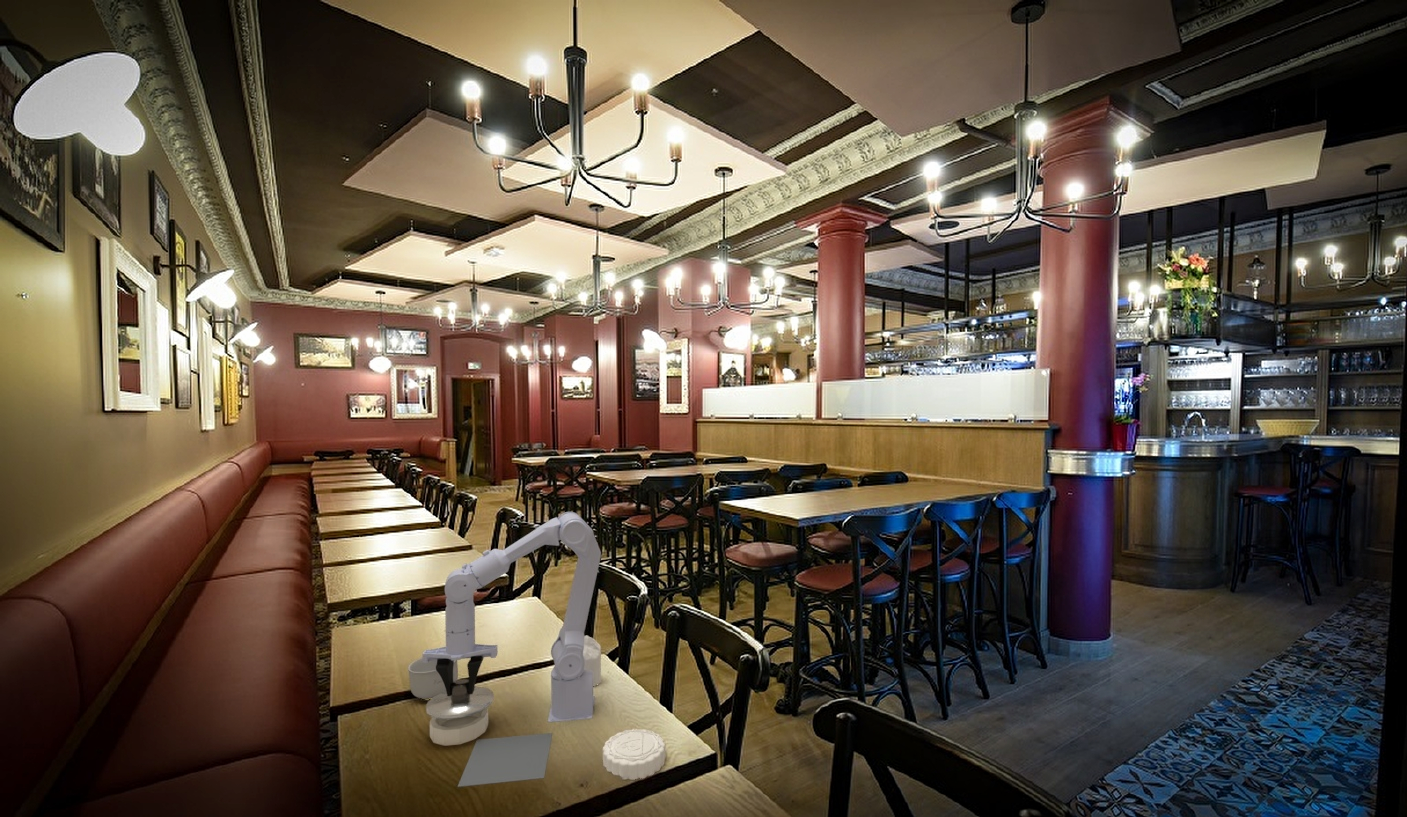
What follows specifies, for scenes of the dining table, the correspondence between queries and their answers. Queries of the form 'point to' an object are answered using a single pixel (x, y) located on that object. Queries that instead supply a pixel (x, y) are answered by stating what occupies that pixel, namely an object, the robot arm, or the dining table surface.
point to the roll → (592, 658)
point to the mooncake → (634, 754)
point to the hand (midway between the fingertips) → (460, 693)
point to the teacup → (427, 678)
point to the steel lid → (459, 701)
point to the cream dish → (458, 728)
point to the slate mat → (507, 760)
